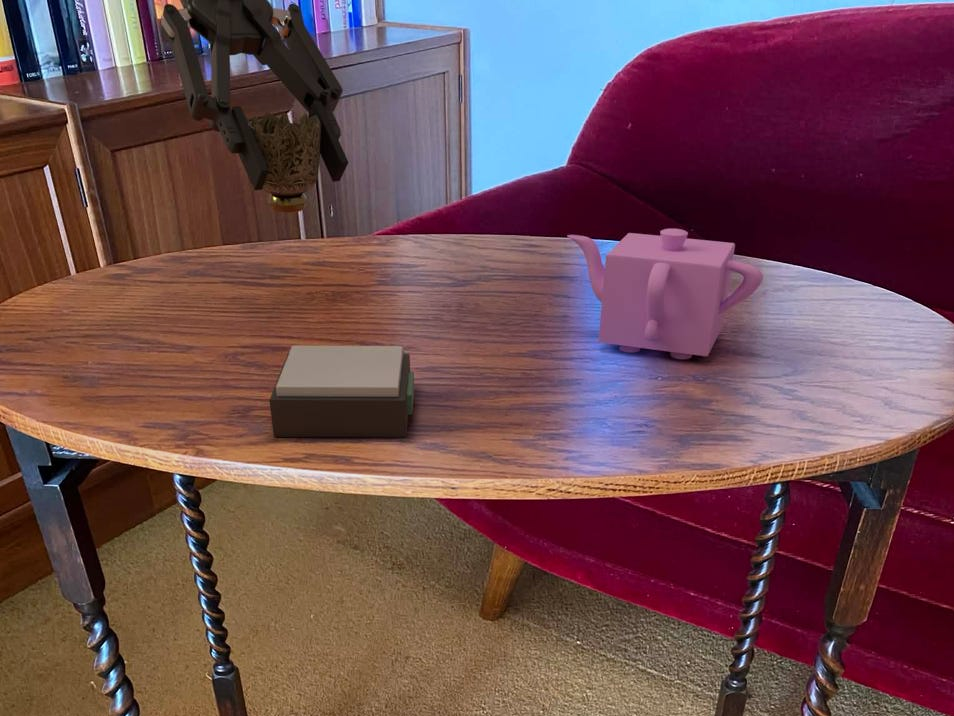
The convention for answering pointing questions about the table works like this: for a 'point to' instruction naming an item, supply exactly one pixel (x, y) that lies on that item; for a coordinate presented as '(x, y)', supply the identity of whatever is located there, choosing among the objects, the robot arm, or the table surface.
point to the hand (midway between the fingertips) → (301, 176)
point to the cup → (288, 158)
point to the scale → (343, 392)
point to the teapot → (665, 291)
